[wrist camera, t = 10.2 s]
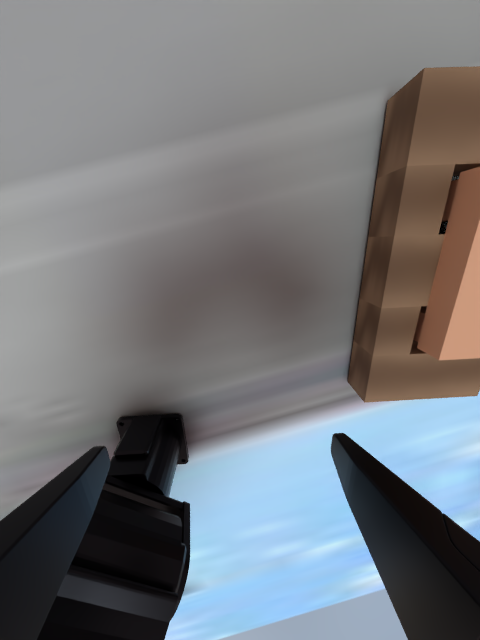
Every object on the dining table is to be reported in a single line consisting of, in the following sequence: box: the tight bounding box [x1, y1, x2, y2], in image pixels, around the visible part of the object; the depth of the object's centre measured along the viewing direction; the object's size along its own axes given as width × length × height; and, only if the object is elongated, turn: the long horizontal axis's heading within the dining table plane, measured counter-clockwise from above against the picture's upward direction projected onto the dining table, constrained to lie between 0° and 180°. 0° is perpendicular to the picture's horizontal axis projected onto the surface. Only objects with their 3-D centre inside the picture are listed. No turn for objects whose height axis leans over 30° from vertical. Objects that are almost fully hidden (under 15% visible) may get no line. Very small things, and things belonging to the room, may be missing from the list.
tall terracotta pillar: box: [413, 167, 480, 360], centre depth 16 cm, size 12×3×5 cm, turn 2°
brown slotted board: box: [348, 67, 480, 402], centre depth 17 cm, size 22×10×3 cm, turn 2°
